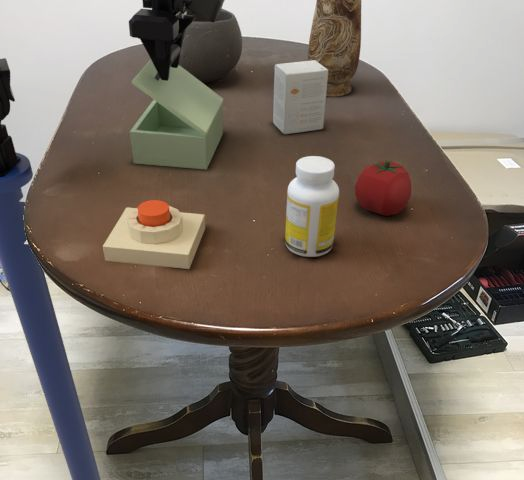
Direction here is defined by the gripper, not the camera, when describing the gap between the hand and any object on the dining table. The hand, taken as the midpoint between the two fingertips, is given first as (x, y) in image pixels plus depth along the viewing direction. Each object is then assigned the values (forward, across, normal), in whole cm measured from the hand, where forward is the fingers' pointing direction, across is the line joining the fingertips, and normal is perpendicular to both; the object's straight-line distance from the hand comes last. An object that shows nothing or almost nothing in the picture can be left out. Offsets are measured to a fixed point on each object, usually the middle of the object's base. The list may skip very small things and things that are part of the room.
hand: (169, 73), depth 93 cm
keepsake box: (+12, 0, -1) cm, 12 cm away
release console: (+12, -30, -5) cm, 33 cm away
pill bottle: (+12, -27, -25) cm, 39 cm away
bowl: (+12, +35, +3) cm, 37 cm away
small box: (+12, +13, -20) cm, 27 cm away
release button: (+8, -30, -5) cm, 31 cm away
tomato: (+11, -15, -35) cm, 40 cm away
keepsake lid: (+3, 0, -1) cm, 3 cm away
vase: (+11, +34, -25) cm, 44 cm away
